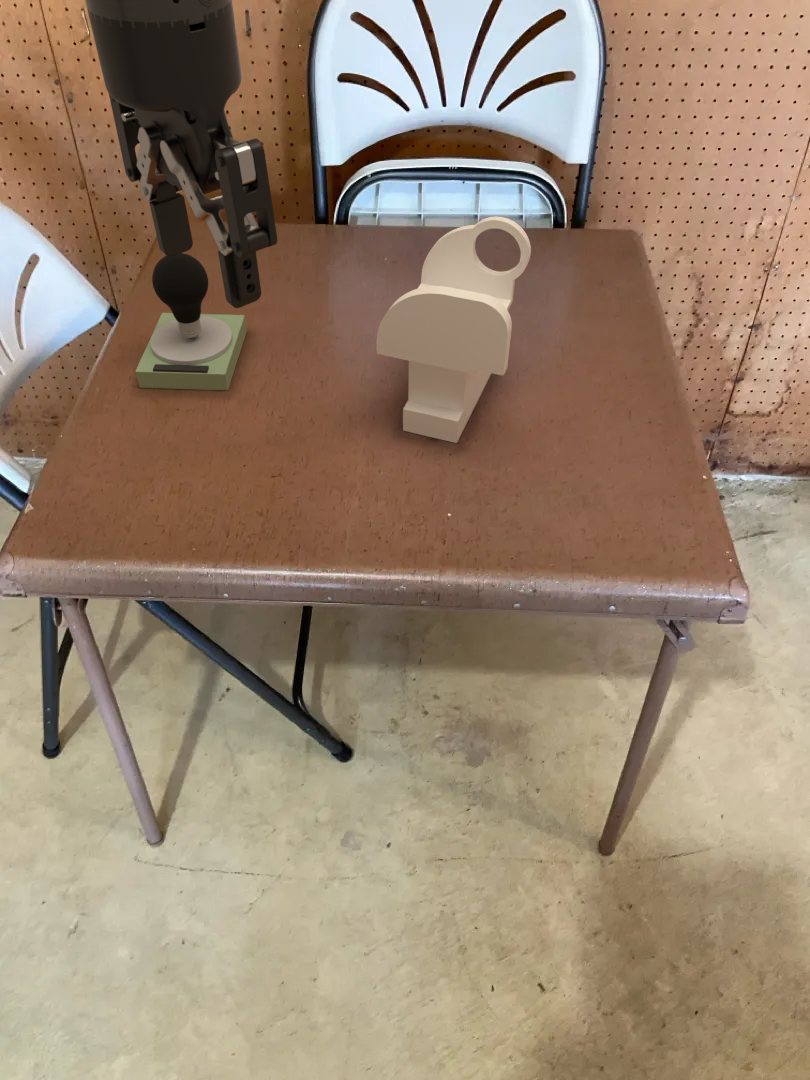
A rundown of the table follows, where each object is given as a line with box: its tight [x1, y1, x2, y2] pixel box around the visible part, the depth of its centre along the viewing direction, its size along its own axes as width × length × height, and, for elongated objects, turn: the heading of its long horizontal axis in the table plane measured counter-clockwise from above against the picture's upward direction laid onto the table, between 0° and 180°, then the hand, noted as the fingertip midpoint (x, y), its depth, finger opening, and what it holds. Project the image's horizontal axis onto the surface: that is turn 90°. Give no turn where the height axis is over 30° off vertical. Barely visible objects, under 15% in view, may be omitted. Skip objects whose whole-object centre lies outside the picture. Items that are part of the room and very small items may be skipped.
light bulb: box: [151, 252, 209, 339], centre depth 92 cm, size 6×6×10 cm
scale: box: [135, 312, 248, 391], centre depth 97 cm, size 12×10×3 cm
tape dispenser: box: [375, 216, 532, 444], centre depth 86 cm, size 14×13×18 cm
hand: (210, 276), depth 56 cm, fingers open, 8 cm apart
